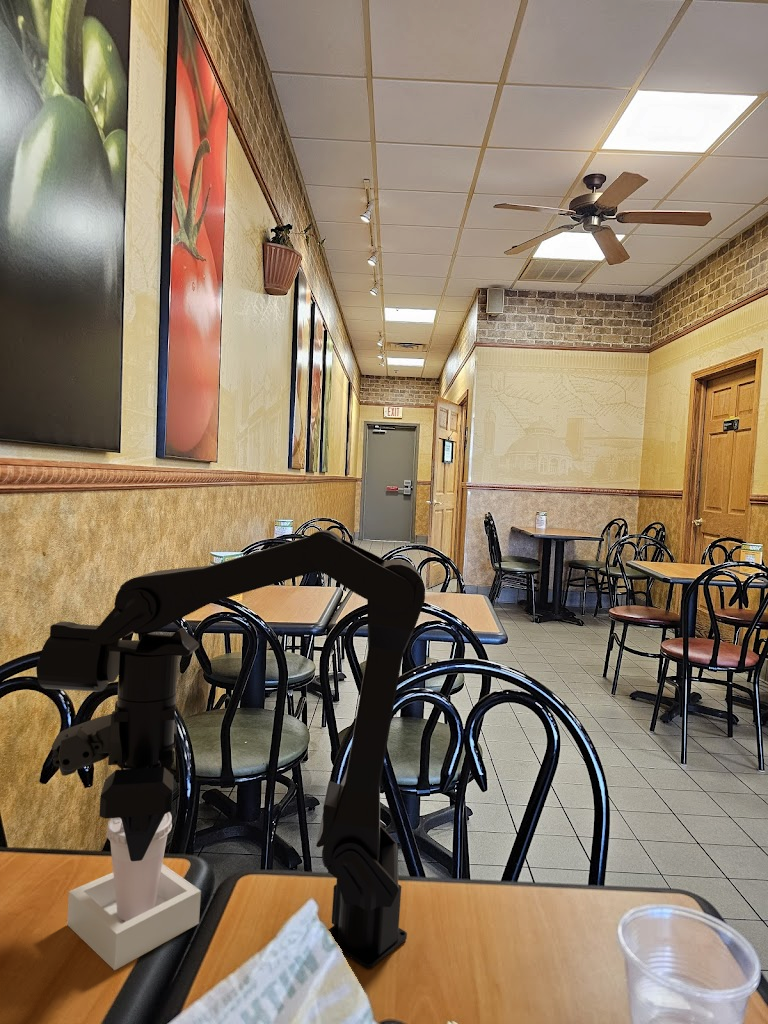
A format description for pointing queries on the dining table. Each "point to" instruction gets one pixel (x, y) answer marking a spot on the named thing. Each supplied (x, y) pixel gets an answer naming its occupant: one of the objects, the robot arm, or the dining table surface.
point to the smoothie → (136, 869)
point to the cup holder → (139, 935)
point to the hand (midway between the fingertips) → (139, 842)
